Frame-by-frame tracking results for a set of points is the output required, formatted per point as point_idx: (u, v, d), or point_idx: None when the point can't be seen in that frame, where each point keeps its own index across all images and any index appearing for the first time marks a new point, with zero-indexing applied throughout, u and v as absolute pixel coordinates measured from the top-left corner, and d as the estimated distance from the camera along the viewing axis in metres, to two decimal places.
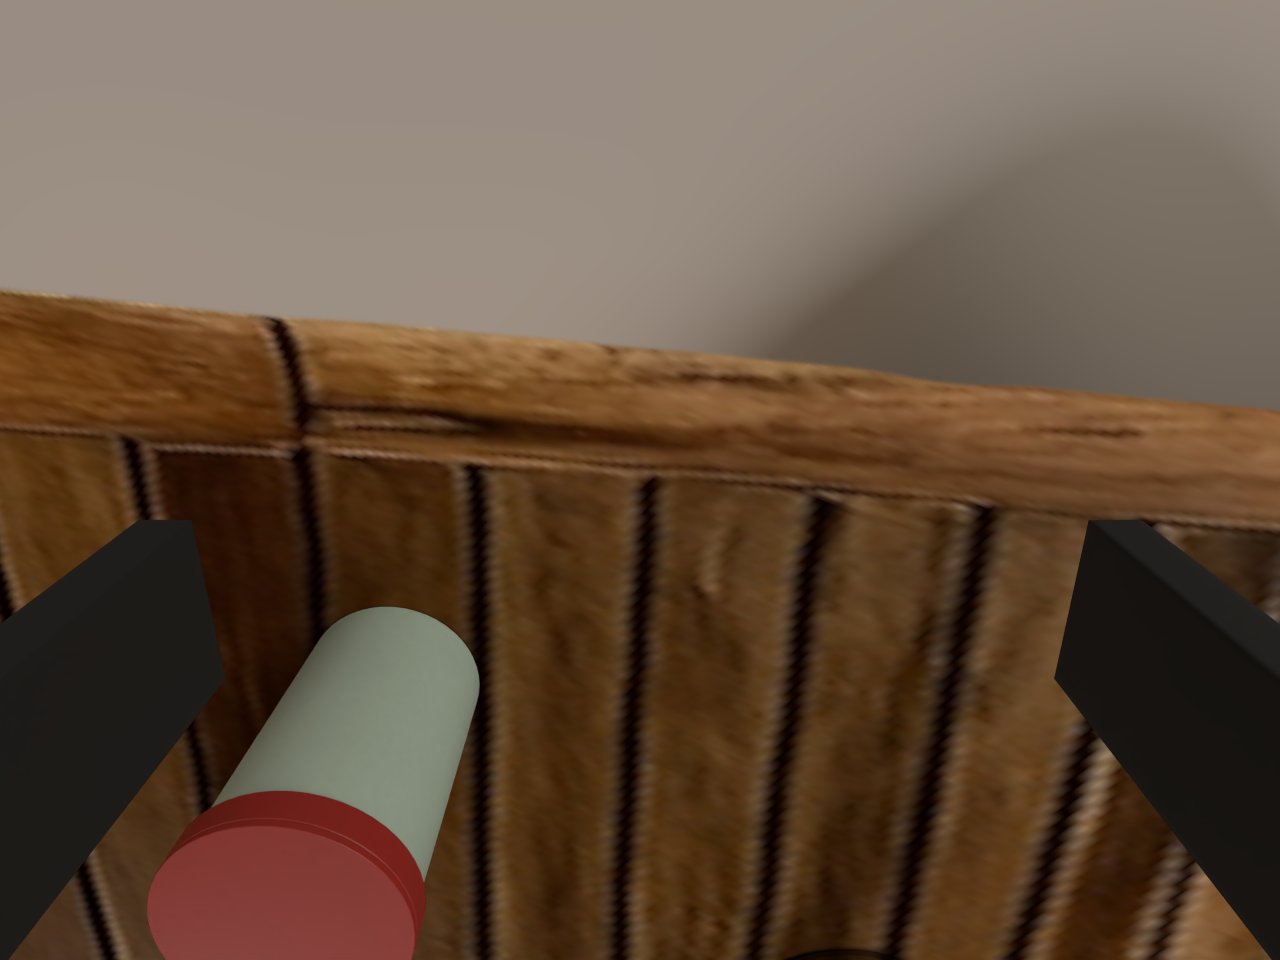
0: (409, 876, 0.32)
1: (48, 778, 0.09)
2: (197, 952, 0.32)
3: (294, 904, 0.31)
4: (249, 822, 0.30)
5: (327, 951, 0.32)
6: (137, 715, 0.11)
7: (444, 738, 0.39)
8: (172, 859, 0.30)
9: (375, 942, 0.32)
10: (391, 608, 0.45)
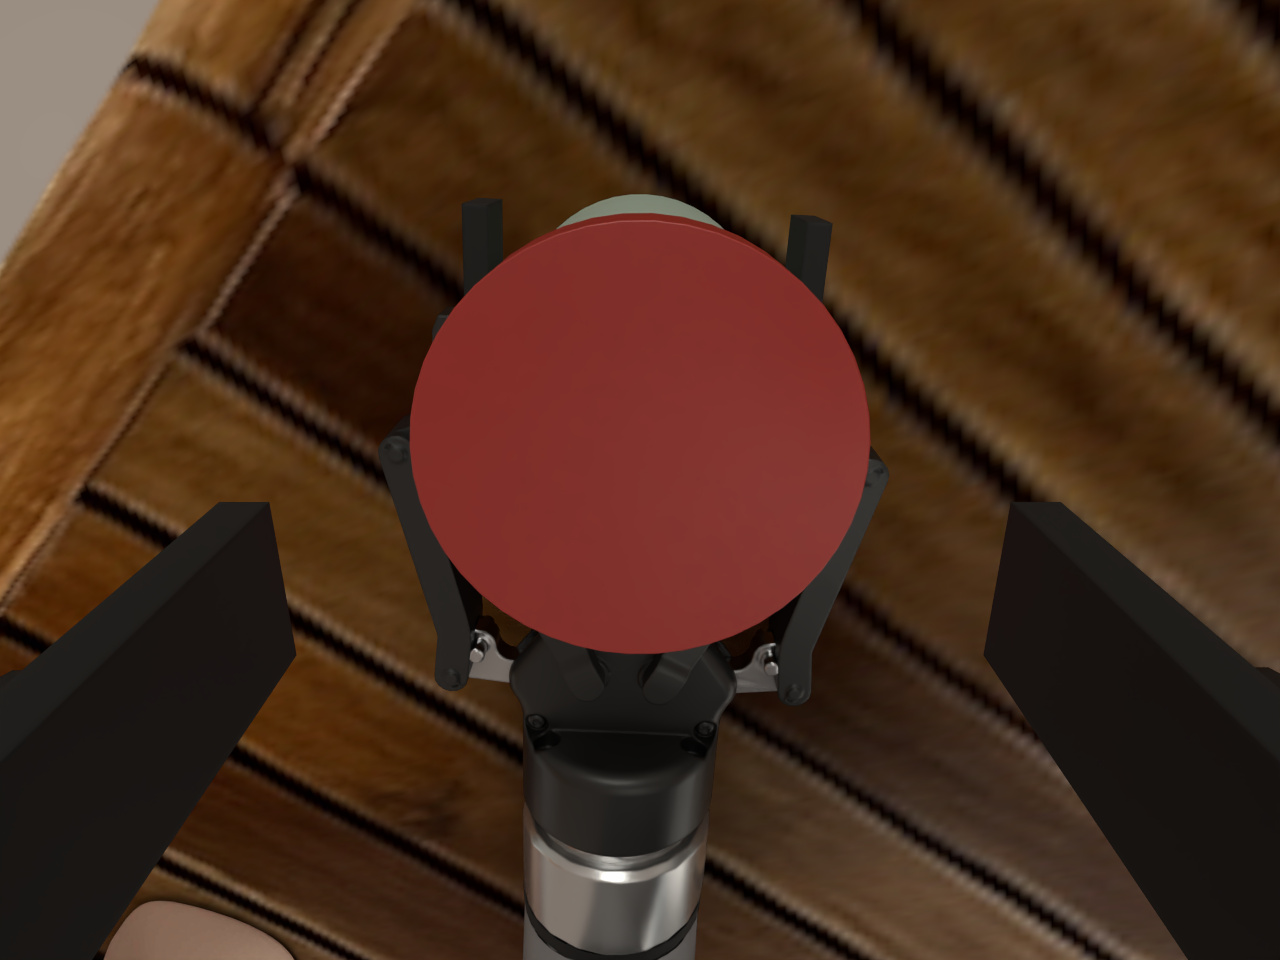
0: (713, 227, 0.17)
1: (159, 739, 0.10)
2: (594, 599, 0.20)
3: (611, 403, 0.18)
4: None
5: (726, 435, 0.18)
6: (227, 685, 0.11)
7: (683, 214, 0.25)
8: (423, 489, 0.19)
9: (765, 353, 0.17)
10: None
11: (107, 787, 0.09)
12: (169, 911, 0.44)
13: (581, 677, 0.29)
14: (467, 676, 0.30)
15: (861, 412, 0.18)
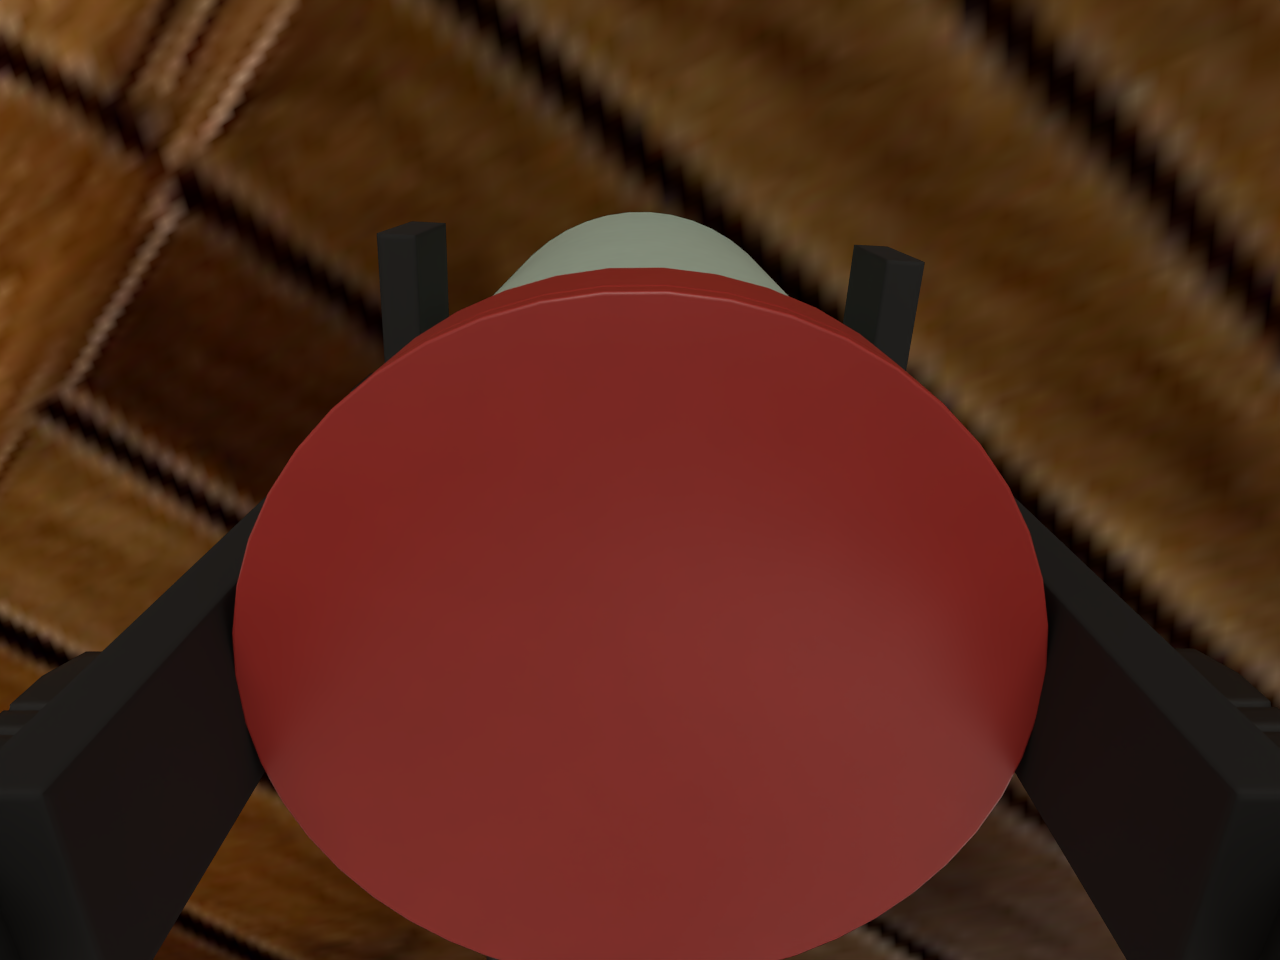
0: (774, 298, 0.10)
1: (228, 717, 0.10)
2: (564, 906, 0.12)
3: (589, 609, 0.10)
4: None
5: (792, 660, 0.10)
6: None
7: (705, 247, 0.17)
8: (264, 744, 0.11)
9: (869, 526, 0.10)
10: None
11: (184, 761, 0.09)
12: None
13: None
14: None
15: (1034, 624, 0.10)
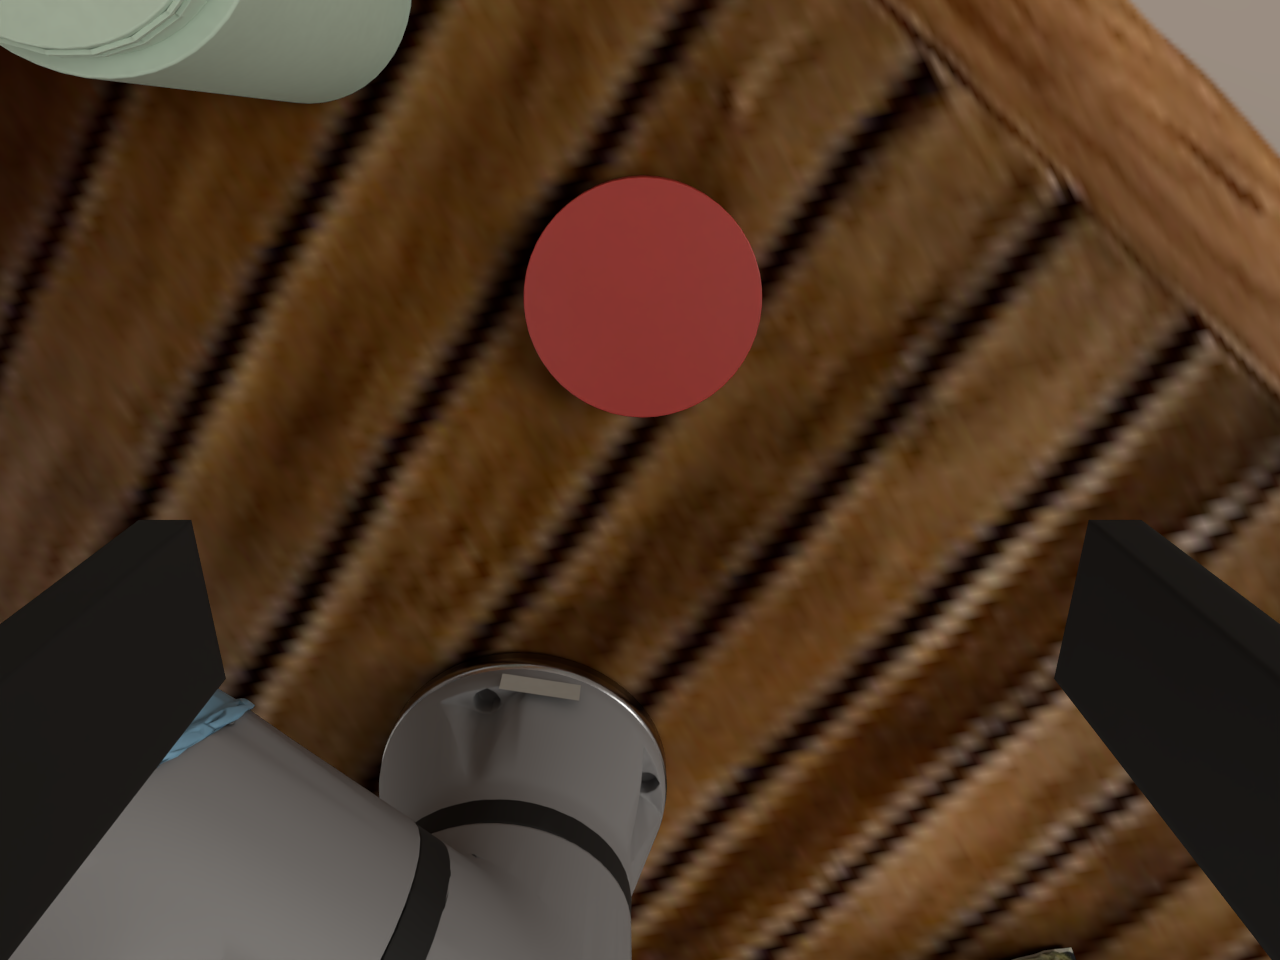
0: None
1: (48, 779, 0.09)
2: (711, 354, 0.36)
3: (609, 306, 0.35)
4: None
5: (645, 256, 0.34)
6: (137, 715, 0.11)
7: None
8: (621, 412, 0.37)
9: (610, 223, 0.34)
10: None
11: None
12: None
13: None
14: None
15: (657, 182, 0.33)
